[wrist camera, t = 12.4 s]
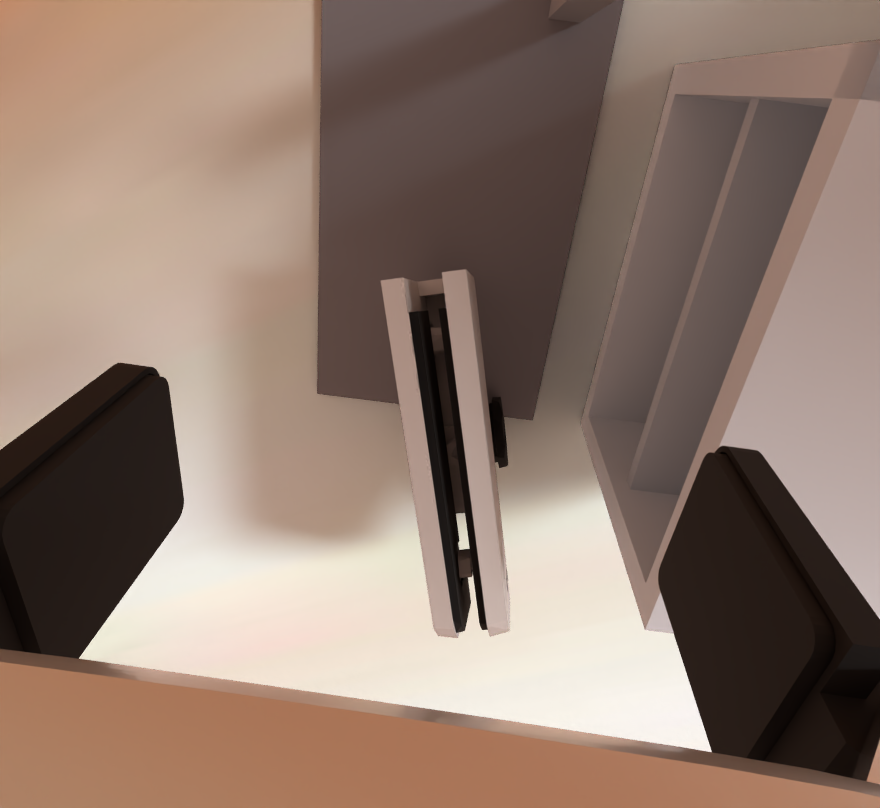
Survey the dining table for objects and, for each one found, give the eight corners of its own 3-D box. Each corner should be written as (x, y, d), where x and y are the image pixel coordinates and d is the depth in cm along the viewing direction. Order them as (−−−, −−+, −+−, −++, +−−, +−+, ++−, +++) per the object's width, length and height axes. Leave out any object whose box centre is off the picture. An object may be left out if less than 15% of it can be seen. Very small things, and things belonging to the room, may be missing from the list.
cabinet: (675, 64, 22) (883, 39, 11) (933, 97, 22) (1412, 106, 11) (580, 423, 30) (645, 629, 19) (773, 447, 30) (957, 668, 19)
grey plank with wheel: (408, 289, 29) (444, 570, 32) (362, 282, 20) (419, 687, 22) (489, 279, 29) (520, 564, 31) (483, 266, 19) (528, 682, 21)
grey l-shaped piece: (324, -59, 21) (194, -187, 11) (626, -21, 21) (755, -114, 11) (318, 390, 30) (242, 537, 20) (532, 417, 30) (559, 576, 20)
